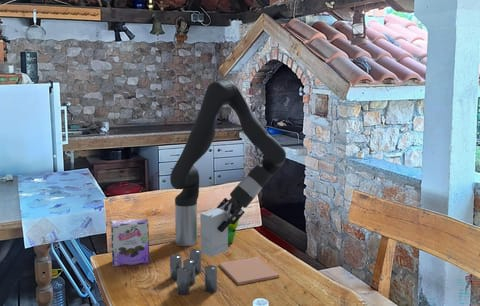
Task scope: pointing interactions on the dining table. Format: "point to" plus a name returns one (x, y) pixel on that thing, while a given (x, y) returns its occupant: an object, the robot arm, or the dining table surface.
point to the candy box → (130, 242)
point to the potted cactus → (232, 231)
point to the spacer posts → (191, 272)
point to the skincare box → (213, 232)
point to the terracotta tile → (248, 270)
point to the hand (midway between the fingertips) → (215, 227)
